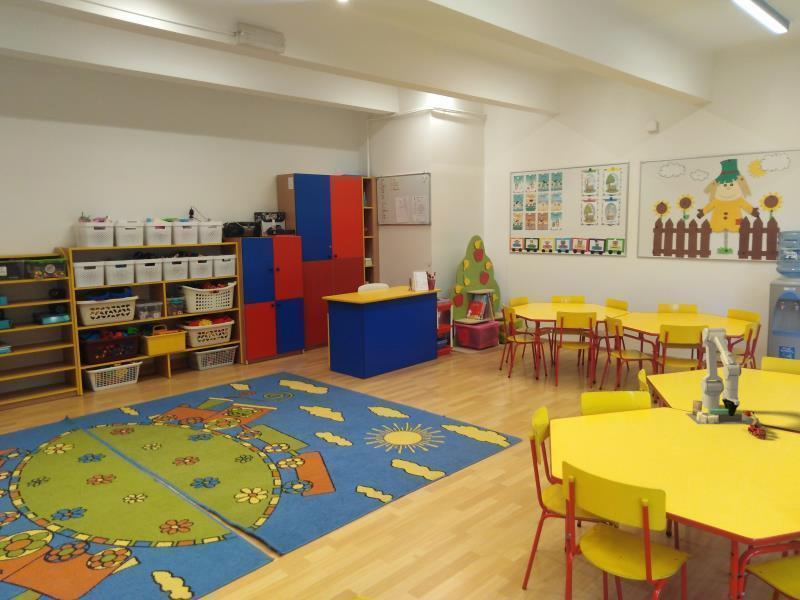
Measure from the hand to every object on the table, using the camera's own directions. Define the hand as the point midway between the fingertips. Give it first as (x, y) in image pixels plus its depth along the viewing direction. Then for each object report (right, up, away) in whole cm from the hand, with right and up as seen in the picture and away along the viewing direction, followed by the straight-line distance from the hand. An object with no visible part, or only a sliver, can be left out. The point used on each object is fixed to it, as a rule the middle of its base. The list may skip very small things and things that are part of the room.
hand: (730, 414), depth 300 cm
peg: (-12, -2, +9) cm, 15 cm away
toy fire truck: (+3, -6, -16) cm, 17 cm away
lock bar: (-4, 0, 0) cm, 4 cm away
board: (-2, -4, +3) cm, 5 cm away
